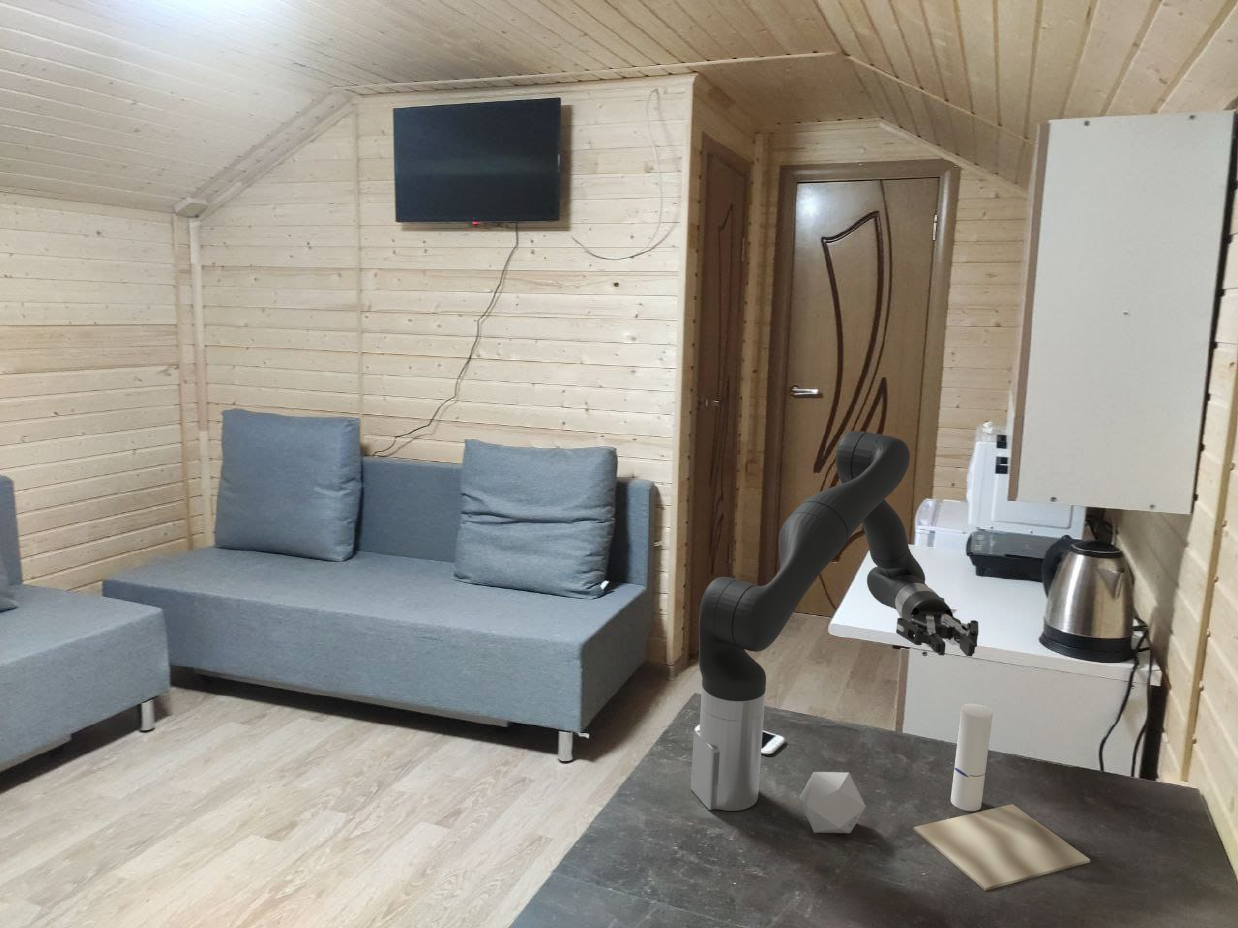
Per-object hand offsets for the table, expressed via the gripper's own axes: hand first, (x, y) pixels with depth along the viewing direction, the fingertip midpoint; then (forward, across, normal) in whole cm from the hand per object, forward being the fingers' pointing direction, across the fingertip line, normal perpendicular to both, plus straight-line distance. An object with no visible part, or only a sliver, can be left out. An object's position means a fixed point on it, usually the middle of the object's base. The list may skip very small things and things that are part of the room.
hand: (956, 650), depth 145 cm
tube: (+10, 0, +20) cm, 23 cm away
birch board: (+21, +1, +20) cm, 29 cm away
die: (+17, -22, +20) cm, 35 cm away
